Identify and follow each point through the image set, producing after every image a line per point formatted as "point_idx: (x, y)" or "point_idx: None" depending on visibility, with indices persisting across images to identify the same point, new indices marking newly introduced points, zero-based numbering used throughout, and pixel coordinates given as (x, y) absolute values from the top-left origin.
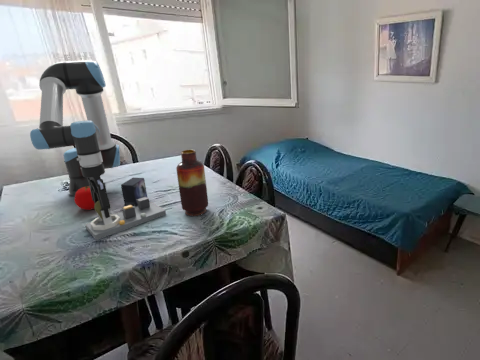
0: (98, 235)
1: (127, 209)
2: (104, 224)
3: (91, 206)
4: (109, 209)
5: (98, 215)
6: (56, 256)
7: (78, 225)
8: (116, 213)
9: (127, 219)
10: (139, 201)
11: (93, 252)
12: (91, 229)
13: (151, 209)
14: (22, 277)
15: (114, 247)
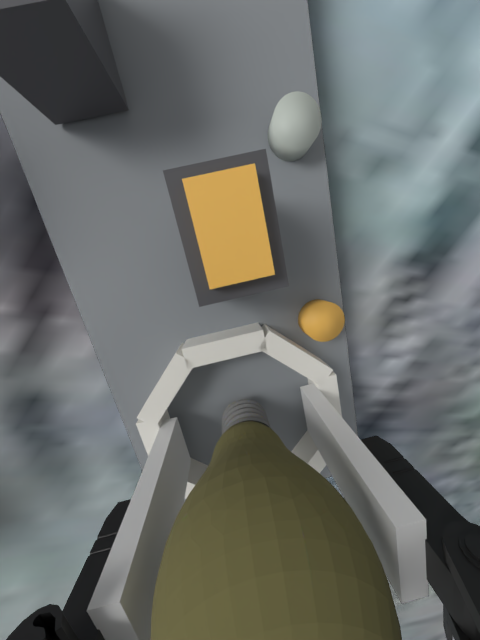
0: None
1: (282, 248)
2: (311, 436)
3: None
4: (313, 469)
5: (184, 494)
6: None
7: (102, 524)
8: (90, 336)
9: None
10: (56, 6)
11: (448, 452)
12: None
13: (176, 1)
14: (433, 622)
15: (477, 373)
